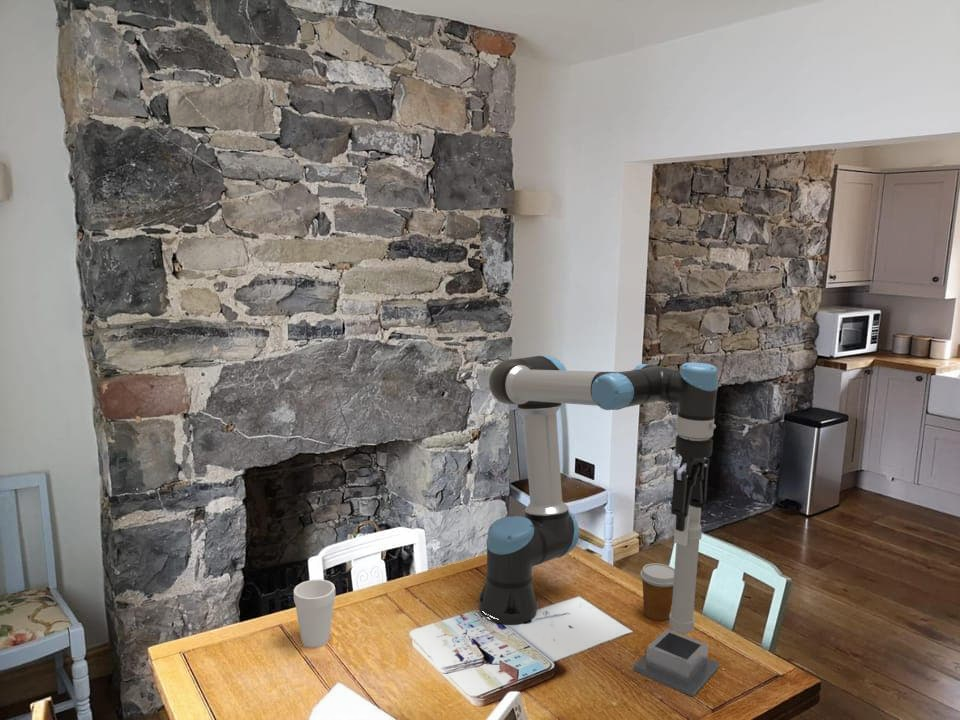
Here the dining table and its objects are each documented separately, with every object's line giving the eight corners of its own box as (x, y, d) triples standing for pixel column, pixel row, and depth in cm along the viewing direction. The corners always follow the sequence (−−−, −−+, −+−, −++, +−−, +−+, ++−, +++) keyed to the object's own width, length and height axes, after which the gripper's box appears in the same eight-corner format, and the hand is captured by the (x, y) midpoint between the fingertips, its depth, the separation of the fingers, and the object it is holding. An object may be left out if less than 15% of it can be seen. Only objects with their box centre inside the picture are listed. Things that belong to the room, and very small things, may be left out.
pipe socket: (633, 670, 157) (634, 646, 156) (661, 644, 168) (662, 622, 167) (693, 697, 149) (695, 672, 148) (718, 667, 159) (720, 644, 158)
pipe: (695, 635, 153) (705, 504, 148) (665, 632, 154) (675, 502, 149) (693, 622, 159) (703, 495, 153) (664, 619, 160) (673, 493, 155)
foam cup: (343, 640, 166) (343, 589, 164) (310, 656, 160) (309, 603, 157) (320, 625, 173) (319, 575, 171) (287, 639, 166) (285, 588, 164)
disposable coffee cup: (669, 628, 175) (672, 583, 173) (632, 616, 180) (635, 573, 178) (680, 611, 183) (683, 568, 181) (644, 601, 188) (647, 559, 186)
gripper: (693, 448, 140) (684, 558, 144) (728, 431, 154) (719, 531, 158) (658, 441, 145) (651, 547, 148) (695, 424, 159) (687, 522, 162)
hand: (686, 539), depth 153 cm, fingers closed on pipe, 5 cm apart
